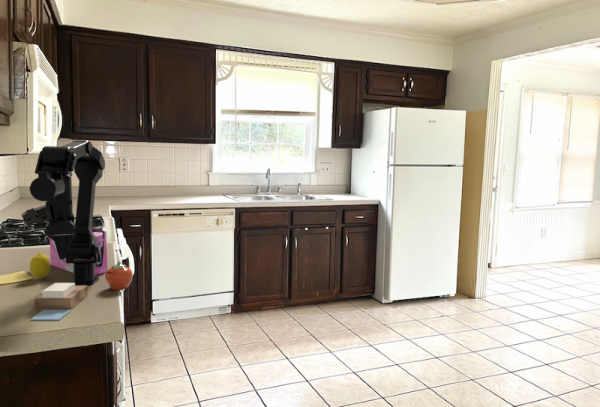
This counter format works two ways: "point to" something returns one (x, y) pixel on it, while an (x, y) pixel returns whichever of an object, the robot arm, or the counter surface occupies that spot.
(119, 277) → the tomato
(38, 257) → the lemon
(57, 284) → the white rectangular block
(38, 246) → the counter surface
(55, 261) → the gum box
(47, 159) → the robot arm
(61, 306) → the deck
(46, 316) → the mat
